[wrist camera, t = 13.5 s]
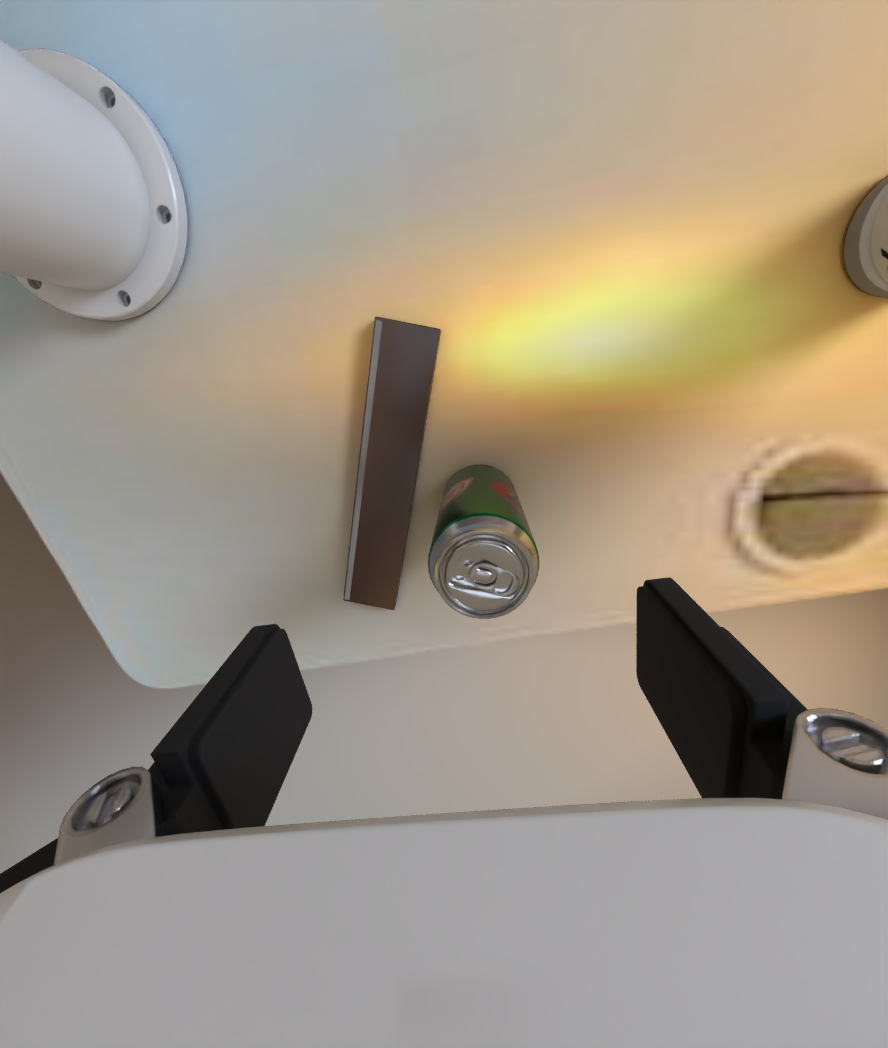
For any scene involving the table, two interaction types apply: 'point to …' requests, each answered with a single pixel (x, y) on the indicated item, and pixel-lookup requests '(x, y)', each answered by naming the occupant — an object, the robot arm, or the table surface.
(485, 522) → the soda can
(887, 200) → the travel mug
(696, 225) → the table surface
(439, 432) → the table surface
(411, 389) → the ruler
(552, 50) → the table surface
